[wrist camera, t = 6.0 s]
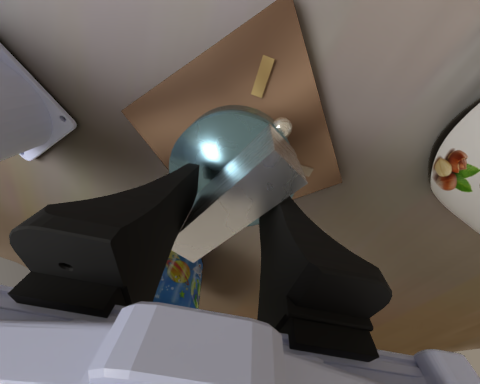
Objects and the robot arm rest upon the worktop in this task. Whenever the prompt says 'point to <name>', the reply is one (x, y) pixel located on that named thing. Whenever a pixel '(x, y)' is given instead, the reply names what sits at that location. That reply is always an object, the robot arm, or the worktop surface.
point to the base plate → (246, 92)
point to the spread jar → (459, 166)
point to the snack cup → (180, 282)
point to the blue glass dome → (233, 174)
